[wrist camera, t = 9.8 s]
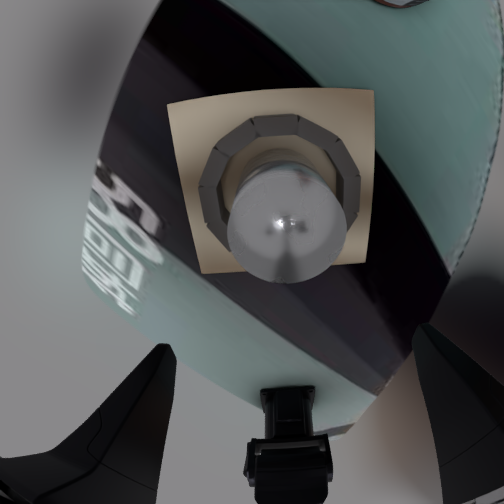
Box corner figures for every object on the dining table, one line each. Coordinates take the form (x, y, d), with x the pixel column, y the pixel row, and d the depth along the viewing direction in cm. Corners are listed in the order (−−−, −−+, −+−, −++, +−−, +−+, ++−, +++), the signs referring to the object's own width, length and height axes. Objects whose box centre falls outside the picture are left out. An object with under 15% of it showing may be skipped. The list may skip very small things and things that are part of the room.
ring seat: (362, 257, 20) (372, 277, 18) (203, 269, 21) (197, 289, 19) (370, 90, 13) (386, 90, 11) (169, 104, 14) (156, 106, 12)
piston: (320, 223, 18) (341, 279, 13) (243, 227, 18) (234, 286, 13) (320, 146, 15) (349, 174, 10) (234, 151, 15) (219, 181, 10)
